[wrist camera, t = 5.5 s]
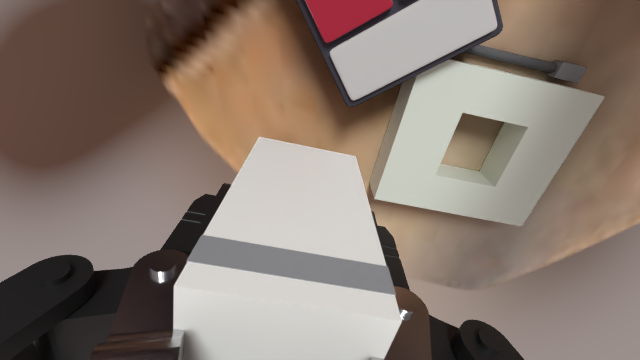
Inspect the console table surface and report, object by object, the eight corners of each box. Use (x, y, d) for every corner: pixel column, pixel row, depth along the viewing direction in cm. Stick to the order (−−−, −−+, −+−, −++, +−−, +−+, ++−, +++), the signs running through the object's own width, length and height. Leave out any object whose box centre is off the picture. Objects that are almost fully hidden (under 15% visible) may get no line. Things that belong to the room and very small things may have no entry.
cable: (428, 28, 23) (432, 29, 22) (578, 65, 24) (586, 67, 24) (422, 45, 24) (426, 46, 23) (569, 81, 25) (577, 83, 24)
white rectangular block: (258, 136, 12) (172, 284, 5) (356, 156, 13) (403, 321, 5) (247, 219, 14) (171, 417, 7) (333, 234, 14) (347, 438, 7)
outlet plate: (412, 49, 24) (424, 53, 21) (575, 88, 25) (605, 96, 23) (369, 182, 29) (374, 198, 27) (504, 208, 31) (521, 226, 28)
